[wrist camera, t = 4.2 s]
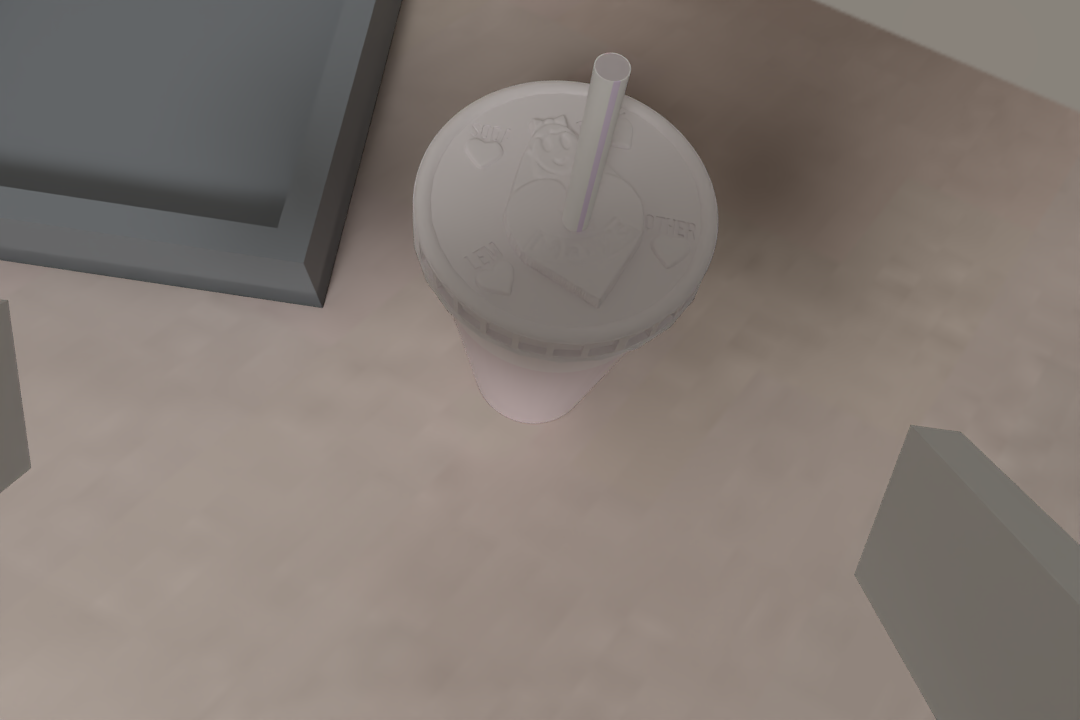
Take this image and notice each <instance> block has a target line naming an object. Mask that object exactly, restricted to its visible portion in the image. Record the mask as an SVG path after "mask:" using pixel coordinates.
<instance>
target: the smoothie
mask: <svg viewBox="0 0 1080 720" xmlns="http://www.w3.org/2000/svg"><path fill="white" fill-rule="evenodd" d="M630 72H631V65H630V63H629V61H628V60H627V59H626V58H625V57H624V56H622V55H620V54H617V53H612V52H609V53H604V54H601V55H600V56H598V57H597V58H596V60H595V62H594V67H593V71H592V76H591V81H590V84H589V83H582V82H576V81H564V80H547V81H534V82H528V83H522V84H518V85H514V86H510V87H506V88H503V89H500V90H498V91H495V92H492V93H490V94H488V95H486V96H483V97H481V98H480V99H478V100H476V101H474V102H472V103H471V104H469V105H468V106H466V107H465V108H463V109H462V110H461V111H459V112H458V113H457V114H456V115H455V116H453V117H452V118H451V119H450V120H449V121H448V122H447V123H446V124H445V125H444V126H443V127H442V128H441V129H440V131H439V132H438V133H437V135H436V136H435V137H434V138H433V140H432V141H431V143H430V145H429V146H428V148H427V150H426V152H425V154H424V156H423V158H422V160H421V163H420V166H419V168H418V171H417V175H416V180H415V184H414V192H413V234H414V248H415V251H416V254H417V256H418V259H419V262H420V265H421V268H422V271H423V273H424V276H425V279H426V281H427V283H428V284H429V286H430V287H431V288H432V290H433V291H434V293H435V294H436V295H437V297H438V298H439V300H440V301H441V302H442V304H443V305H444V307H445V308H446V309H447V311H448V312H449V313H450V314H451V315H453V317H454V319H455V322H456V325H457V328H458V331H459V333H460V336H461V339H462V342H463V345H464V348H465V350H466V353H467V356H468V359H469V362H470V364H471V367H472V370H473V373H474V376H475V378H476V381H477V384H478V387H479V389H480V391H481V393H482V395H483V397H484V398H485V399H486V401H487V402H488V403H489V404H490V405H491V406H492V407H493V408H494V409H495V410H496V411H498V412H499V413H500V414H502V415H504V416H506V417H508V418H510V419H512V420H515V421H519V422H524V423H544V422H548V421H552V420H555V419H557V418H559V417H561V416H563V415H565V414H566V413H568V412H569V411H570V410H571V409H573V408H574V407H575V406H576V405H577V404H578V403H579V401H580V400H581V399H582V398H583V397H584V396H585V395H586V394H587V393H588V392H589V391H590V390H591V389H592V388H593V387H594V386H595V385H596V384H597V383H598V382H599V381H600V380H601V379H602V377H603V376H604V375H605V374H606V373H607V372H608V371H609V370H610V369H611V368H612V367H613V366H614V365H615V364H616V363H617V362H618V361H619V360H620V359H621V358H622V357H623V356H624V355H625V353H626V352H628V351H631V350H635V349H638V348H640V347H641V346H643V345H644V344H646V343H647V342H649V341H650V340H652V339H653V338H655V337H656V336H658V335H659V334H661V333H662V332H664V331H665V330H667V329H668V328H670V327H671V326H672V325H673V323H674V322H675V321H676V320H677V319H678V318H679V316H680V315H681V314H682V313H683V312H684V310H685V309H686V308H687V307H688V306H689V305H690V303H691V302H692V301H693V300H694V297H695V295H696V293H697V290H698V288H699V286H700V283H701V281H702V279H703V277H704V275H705V273H706V271H707V270H708V267H709V265H710V262H711V260H712V257H713V254H714V250H715V246H716V241H717V235H718V207H717V201H716V196H715V192H714V188H713V185H712V182H711V179H710V177H709V174H708V172H707V170H706V168H705V166H704V164H703V162H702V160H701V158H700V157H699V155H698V154H697V152H696V151H695V149H694V148H693V146H692V145H691V144H690V143H689V141H688V140H687V139H686V138H685V137H684V135H683V134H682V133H681V132H680V131H679V130H678V129H677V128H676V127H675V126H674V125H672V124H671V123H670V122H669V121H668V120H667V119H665V118H664V117H663V116H661V115H660V114H659V113H657V112H656V111H655V110H653V109H652V108H650V107H648V106H647V105H645V104H643V103H642V102H640V101H638V100H636V99H634V98H632V97H630V96H627V95H625V91H626V87H627V83H628V80H629V76H630Z"/></svg>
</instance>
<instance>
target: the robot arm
mask: <svg viewBox="0 0 1080 720" xmlns="http://www.w3.org/2000/svg"><path fill="white" fill-rule="evenodd" d="M30 468H31V463H30V456H29V449H28V441H27V434H26V427H25V420H24V412H23V405H22V398H21V391H20V383H19V376H18V369H17V362H16V354H15V347H14V340H13V333H12V325H11V318H10V311H9V304H8V300H0V493H1V492H2V491H3V490H5V489H6V488H7V487H8V486H9V485H11V484H12V483H13V482H14V481H16V480H17V479H18V478H19V477H21V476H22V475H23V474H24V473H26V472H27V471H28V470H29V469H30ZM854 575H855V577H856V578H857V580H858V582H859V584H860V586H861V587H862V589H863V591H864V593H865V594H866V596H867V598H868V600H869V601H870V603H871V605H872V607H873V609H874V610H875V612H876V614H877V616H878V617H879V619H880V621H881V623H882V624H883V626H884V628H885V630H886V631H887V633H888V635H889V637H890V639H891V640H892V642H893V644H894V646H895V647H896V649H897V651H898V653H899V654H900V656H901V658H902V660H903V662H904V663H905V665H906V667H907V669H908V670H909V672H910V674H911V676H912V677H913V679H914V681H915V683H916V685H917V686H918V688H919V690H920V692H921V693H922V695H923V697H924V699H925V700H926V702H927V704H928V706H929V707H930V709H931V711H932V713H933V715H934V716H935V718H936V720H1080V545H1079V544H1078V543H1077V542H1076V541H1075V540H1074V539H1072V538H1071V537H1070V536H1069V535H1068V534H1067V533H1066V532H1065V531H1064V530H1063V529H1062V528H1061V527H1060V526H1059V525H1058V524H1057V523H1056V522H1055V521H1054V520H1053V519H1051V518H1050V517H1049V516H1048V515H1047V514H1046V513H1045V512H1044V511H1043V510H1042V509H1041V508H1040V507H1039V506H1038V505H1037V504H1036V503H1035V502H1034V501H1033V500H1032V499H1031V498H1029V497H1028V496H1027V495H1026V494H1025V493H1024V492H1023V491H1022V490H1021V489H1020V488H1019V487H1018V486H1017V485H1016V484H1015V483H1014V482H1013V481H1012V480H1011V479H1010V478H1009V477H1007V476H1006V475H1005V474H1004V473H1003V472H1002V471H1001V470H1000V469H999V468H998V467H997V466H996V465H995V464H994V463H993V462H992V461H991V460H990V459H989V458H988V457H986V456H985V455H984V454H983V453H982V452H981V451H980V450H979V449H978V448H977V447H976V446H975V445H974V444H973V443H972V442H971V441H970V440H969V439H968V438H967V437H966V436H964V435H963V434H962V433H961V432H958V431H950V430H943V429H936V428H929V427H921V426H914V425H910V428H909V431H908V433H907V436H906V439H905V441H904V444H903V447H902V449H901V452H900V454H899V457H898V460H897V462H896V465H895V468H894V470H893V473H892V476H891V478H890V481H889V484H888V486H887V489H886V492H885V494H884V497H883V500H882V502H881V505H880V508H879V510H878V513H877V516H876V518H875V521H874V524H873V526H872V529H871V532H870V534H869V537H868V540H867V542H866V545H865V547H864V550H863V553H862V555H861V558H860V561H859V563H858V566H857V569H856V571H855V574H854Z"/></svg>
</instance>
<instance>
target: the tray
mask: <svg viewBox="0 0 1080 720" xmlns="http://www.w3.org/2000/svg"><path fill="white" fill-rule="evenodd" d="M401 2H402V0H0V260H4V261H11V262H18V263H24V264H31V265H38V266H44V267H51V268H58V269H65V270H71V271H78V272H85V273H92V274H98V275H105V276H112V277H118V278H125V279H132V280H139V281H145V282H152V283H159V284H165V285H172V286H179V287H186V288H192V289H199V290H206V291H212V292H219V293H226V294H233V295H239V296H246V297H253V298H260V299H266V300H273V301H280V302H286V303H293V304H300V305H307V306H313V307H320V308H323V304H324V300H325V296H326V292H327V288H328V285H329V281H330V277H331V273H332V269H333V265H334V261H335V257H336V254H337V250H338V246H339V242H340V238H341V234H342V230H343V226H344V223H345V219H346V215H347V211H348V207H349V203H350V199H351V195H352V192H353V188H354V184H355V180H356V176H357V172H358V168H359V164H360V161H361V157H362V153H363V149H364V145H365V141H366V137H367V133H368V129H369V126H370V122H371V118H372V114H373V110H374V106H375V102H376V98H377V95H378V91H379V87H380V83H381V79H382V75H383V71H384V67H385V64H386V60H387V56H388V52H389V48H390V44H391V40H392V36H393V33H394V29H395V25H396V21H397V17H398V13H399V9H400V5H401Z"/></svg>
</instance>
